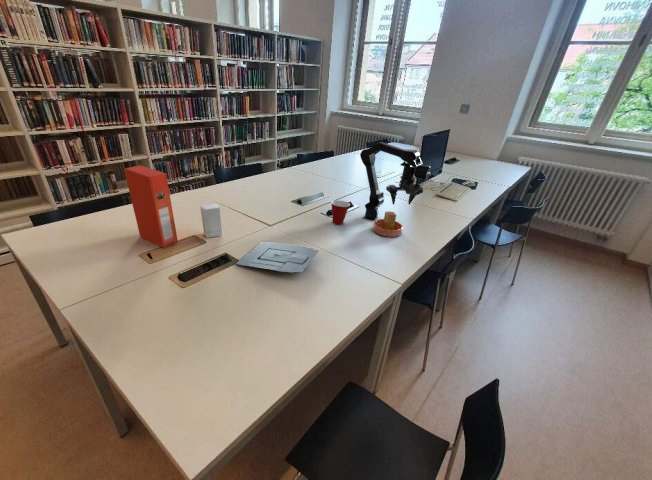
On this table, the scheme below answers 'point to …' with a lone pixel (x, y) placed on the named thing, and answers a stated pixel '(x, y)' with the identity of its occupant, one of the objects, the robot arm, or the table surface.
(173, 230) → the file binder
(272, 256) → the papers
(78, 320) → the table surface
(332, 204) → the plastic cup
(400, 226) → the bowl
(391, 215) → the ochre block
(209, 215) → the cosmetic box
